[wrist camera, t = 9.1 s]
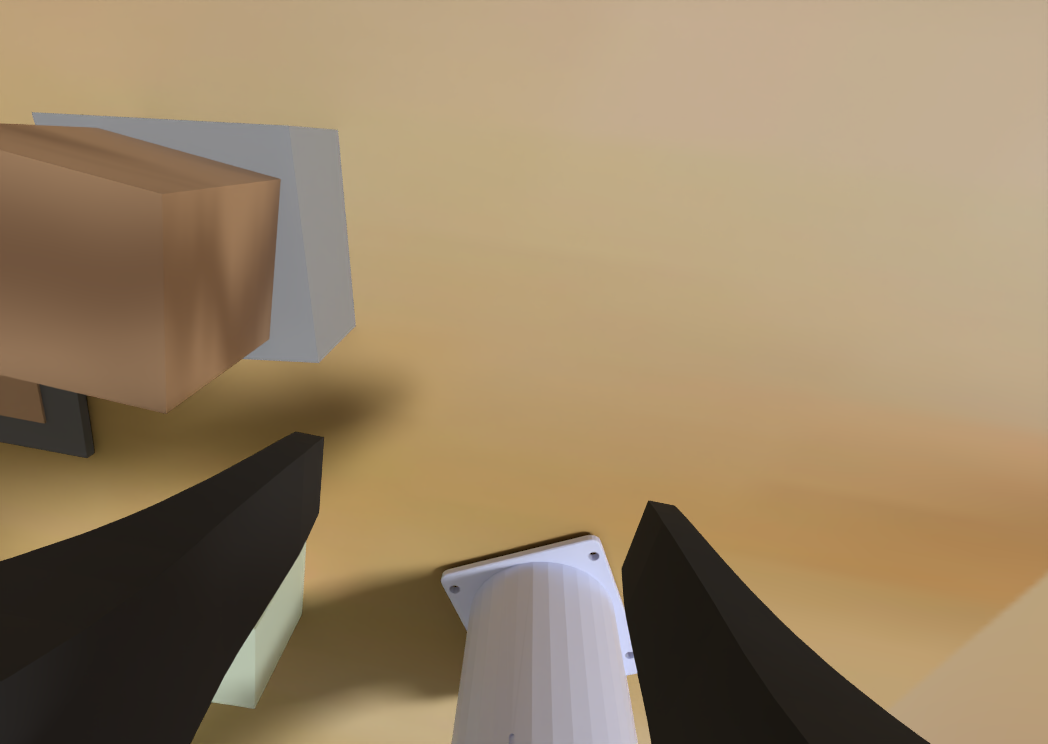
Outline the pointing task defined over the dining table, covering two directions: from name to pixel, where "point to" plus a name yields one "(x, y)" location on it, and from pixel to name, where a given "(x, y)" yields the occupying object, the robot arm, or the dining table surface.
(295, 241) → the slate base
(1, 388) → the card
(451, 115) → the dining table surface
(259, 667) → the sage block
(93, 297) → the walnut block
